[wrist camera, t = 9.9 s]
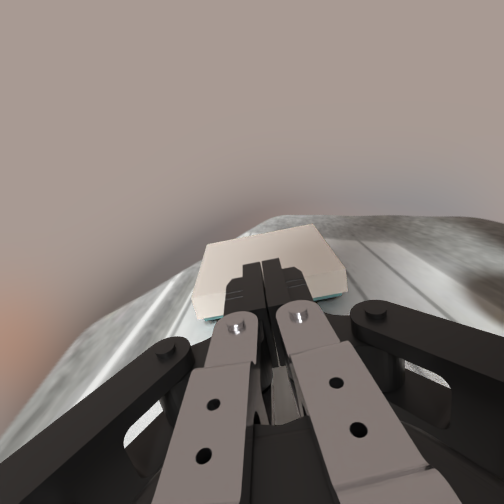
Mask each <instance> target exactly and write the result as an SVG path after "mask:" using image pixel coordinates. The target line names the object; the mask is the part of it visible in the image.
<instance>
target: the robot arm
mask: <svg viewBox="0 0 504 504" xmlns="http://www.w3.org/2000/svg"><path fill="white" fill-rule="evenodd" d="M262 269H263V272H262ZM263 276H264V277H263ZM274 338H275V339H274ZM275 342H276V346H275ZM276 347H277V352H278V356H279V361H280V366H285V365H286V368H287V372H288V378H289V382H290V387H291V390H292V394H293V397H294V401H295V404H296V408H297V411H298V415H299V419H296V420H294V421H291V422H289V423H287V424H284V425H275V416H274V386H273V382H272V379H273V372H272V368H275V367H279V366H278V359H277V352H276ZM405 360H406V361H408V362H411V363H413V364H415V365H417V366H420V367H422V368H424V369H427V370H429V371H431V372H434V373H436V374H438V375H439V376H441V377H442V378H443V379H444V380H445V381H446V382H447V383H448V384H449V386H450V388H451V389H449V388H447V387H445V386H443V385H441V384H438V383H436V382H434V381H432V380H430V379H427V378H425V377H423V376H421V375H419V374H416V373H414V372H412V371H410V370H408V369H405ZM158 400H159V401H160V404H161V406H162V408H163V412H162V413H160V414H159V415H158V416H157V417H156V418H155V419H154V420H153V421H152V422H151V423H150V424H149V425H148V426H147V427H146V428H145V429H144V430H143V431H142V432H141V433H140V434H139V435H138V436H137V437H136V438H135V439H134V440H133V441H132V442H131V443H130V444H129V445H128V446H127V447H126V448H124V445H123V442H124V437H125V435H126V433H127V431H128V429H129V428H130V427H131V426H132V425H133V424H134V423H135V422H136V421H137V420H138V419H139V418H140V417H141V416H142V415H143V414H144V413H146V412H147V411H148V410H149V409H150V408H151V407H152V406H153V405H154V404H155V403H156V402H157V401H158ZM0 504H504V337H502V336H498V335H495V334H492V333H489V332H485V331H482V330H479V329H475V328H472V327H469V326H466V325H462V324H459V323H456V322H453V321H449V320H446V319H443V318H440V317H436V316H433V315H430V314H427V313H423V312H420V311H417V310H414V309H410V308H407V307H404V306H400V305H397V304H394V303H391V302H387V301H382V300H368V301H364V302H361V303H358V304H356V305H355V306H354V307H353V308H352V309H351V311H350V316H340V315H331V314H327V313H324V312H323V311H322V309H321V308H320V306H319V305H318V304H316V303H315V302H314V300H313V298H312V296H311V293H310V291H309V288H308V286H307V283H306V281H305V279H304V276H303V273H302V271H300V270H299V269H297V268H296V267H289V268H284V269H282V267H281V264H280V260H279V258H274V259H269V260H264V261H262V268H261V263H260V262H254V263H249V264H244V265H243V277H239V278H234V279H231V281H230V282H229V283H228V284H227V286H226V294H225V304H224V314H223V317H222V318H221V319H220V320H219V321H218V322H217V323H216V324H215V327H214V330H213V334H212V337H210V338H209V339H207V340H205V341H202V342H200V343H197V344H195V345H193V346H190V343H189V341H188V340H187V339H186V338H184V337H178V336H177V337H170V338H166V339H163V340H161V341H159V342H157V343H155V344H154V345H153V346H151V347H150V348H149V349H147V350H146V351H145V352H144V353H142V354H141V355H140V356H138V357H137V358H136V359H135V360H133V361H132V362H131V363H129V364H128V365H127V366H125V367H124V368H123V369H122V370H120V371H119V372H118V373H116V374H115V375H114V376H113V377H111V378H110V379H109V380H107V381H106V382H105V383H104V384H102V385H101V386H100V387H98V388H97V389H96V390H95V391H93V392H92V393H91V394H89V395H88V396H87V397H85V398H84V399H83V400H82V401H80V402H79V403H78V404H76V405H75V406H74V407H73V408H71V409H70V410H69V411H67V412H66V413H65V414H64V415H62V416H61V417H60V418H58V419H57V420H56V421H55V422H53V423H52V424H51V425H49V426H48V427H47V428H45V429H44V430H43V431H42V432H40V433H39V434H38V435H36V436H35V437H34V438H33V439H31V440H30V441H29V442H27V443H26V444H25V445H24V446H22V447H21V448H20V449H18V450H17V451H16V452H15V453H13V454H12V455H11V456H9V457H8V458H7V459H5V460H4V461H3V462H2V463H0Z"/></svg>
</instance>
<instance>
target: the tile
mask: <svg viewBox="0 0 504 504" xmlns="http://www.w3.org/2000/svg"><path fill="white" fill-rule="evenodd" d="M274 258H279V260H280V264H281V267H282V269H284V268H289V267H296V268H297V269H299V270H300V271H302V273H303V276H304V279H305V281H306V283H307V286H308V288H309V291H310V293H311V296H312V298H313V300H314V301H315V300H321V299H326V298H331V297H337V296H342V293H343V292H348V286H347V276H346V268H345V267H344V266H343V264H342V263H341V261H340V260H339V259H338V257H337V256H336V255H335V253H334V252H333V251H332V249H331V248H330V246H329V245H328V244H327V242H326V241H325V240H324V238H323V237H322V236H321V234H320V233H319V231H318V230H317V229H316V227H315V226H314V225H313V224H308V225H303V226H298V227H293V228H288V229H283V230H278V231H272V232H267V233H262V234H257V235H252V236H247V237H242V238H237V239H232V240H228V241H222V242H217V243H212V244H207V247H206V250H205V254H204V257H203V260H202V264H201V267H200V270H199V273H198V277H197V280H196V283H195V287H194V290H193V293H192V297H191V300H192V303H193V306H194V309H195V312H196V316H197V319H198V320H199V319H204V320H205V321H208V320H213V319H219V318H222V317H223V314H224V304H225V294H226V286H227V284H228V283H229V282H230V281H231V279H234V278H239V277H243V265H244V264H249V263H254V262H260V263H261V268H262V261H264V260H269V259H274ZM262 272H263V269H262ZM263 277H264V276H263Z"/></svg>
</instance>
